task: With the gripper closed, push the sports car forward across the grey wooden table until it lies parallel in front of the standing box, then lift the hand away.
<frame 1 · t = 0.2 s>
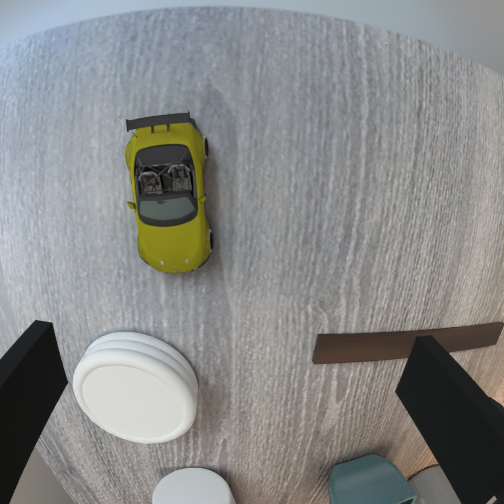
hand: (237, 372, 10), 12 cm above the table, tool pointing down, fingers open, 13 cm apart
flower pot: (353, 466, 31), on the table
ruler: (426, 341, 25), on the table
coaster: (140, 377, 24), on the table
mug: (202, 486, 30), on the table
water bottle: (418, 476, 35), on the table
sports car: (172, 195, 20), on the table
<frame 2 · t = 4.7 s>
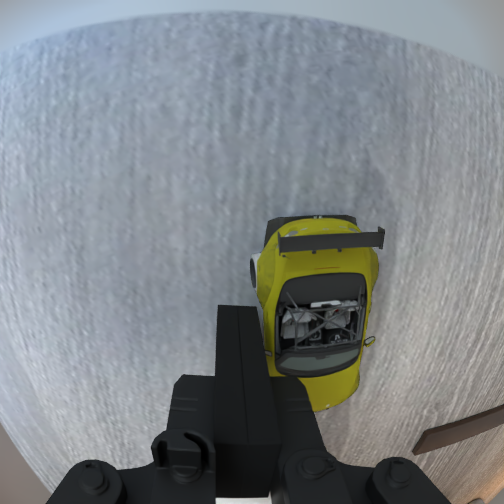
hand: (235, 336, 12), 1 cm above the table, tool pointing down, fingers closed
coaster: (226, 489, 18), on the table
sports car: (308, 320, 14), on the table, touching gripper
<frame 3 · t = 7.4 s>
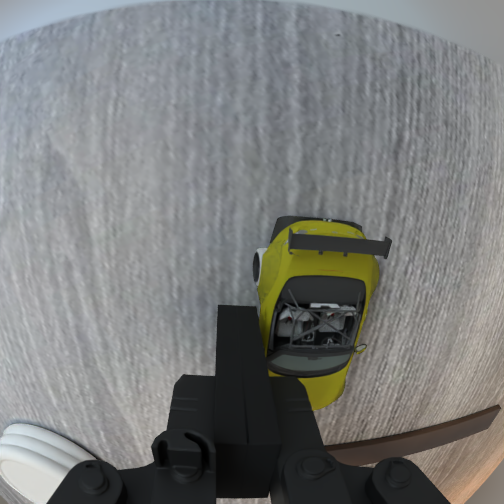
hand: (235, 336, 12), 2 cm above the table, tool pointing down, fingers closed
ruler: (394, 444, 18), on the table
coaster: (59, 461, 17), on the table
sports car: (301, 321, 14), on the table, touching gripper
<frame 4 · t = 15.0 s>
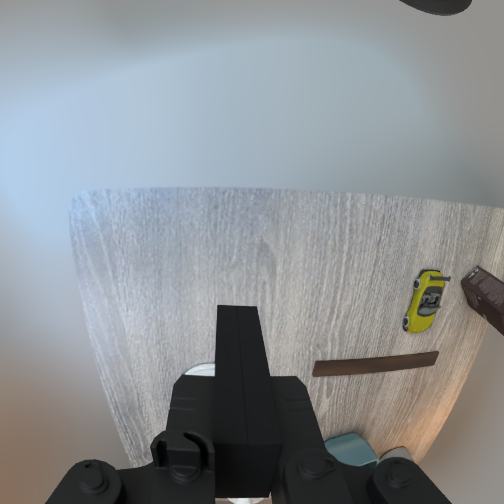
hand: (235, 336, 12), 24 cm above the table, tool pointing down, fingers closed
flower pot: (340, 442, 50), on the table
ruler: (381, 363, 44), on the table
box: (471, 285, 42), on the table
water bottle: (389, 454, 54), on the table
sports car: (420, 300, 41), on the table
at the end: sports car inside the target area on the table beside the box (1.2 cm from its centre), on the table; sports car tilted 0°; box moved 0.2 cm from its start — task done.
